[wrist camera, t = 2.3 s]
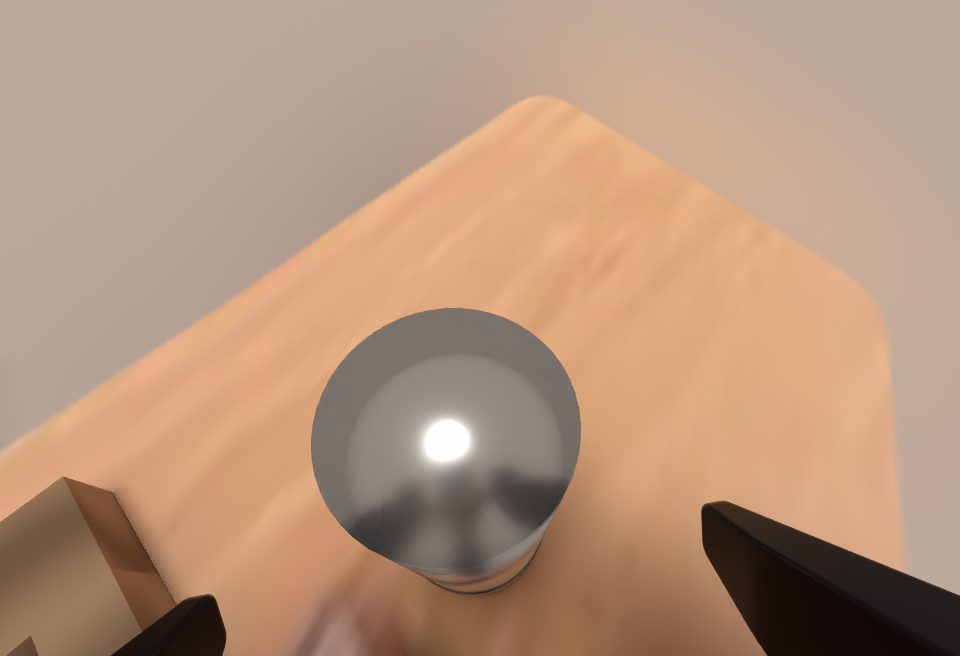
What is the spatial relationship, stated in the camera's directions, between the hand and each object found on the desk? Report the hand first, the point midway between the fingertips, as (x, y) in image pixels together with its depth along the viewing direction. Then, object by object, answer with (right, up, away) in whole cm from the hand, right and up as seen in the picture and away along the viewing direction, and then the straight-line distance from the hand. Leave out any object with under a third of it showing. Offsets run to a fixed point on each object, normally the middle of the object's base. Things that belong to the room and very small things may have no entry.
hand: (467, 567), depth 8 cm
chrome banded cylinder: (0, -3, +9) cm, 10 cm away
